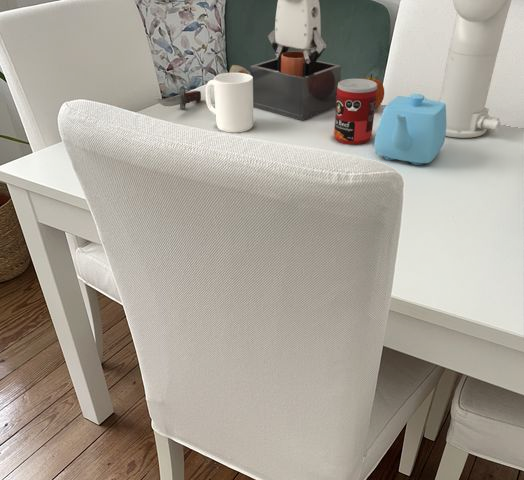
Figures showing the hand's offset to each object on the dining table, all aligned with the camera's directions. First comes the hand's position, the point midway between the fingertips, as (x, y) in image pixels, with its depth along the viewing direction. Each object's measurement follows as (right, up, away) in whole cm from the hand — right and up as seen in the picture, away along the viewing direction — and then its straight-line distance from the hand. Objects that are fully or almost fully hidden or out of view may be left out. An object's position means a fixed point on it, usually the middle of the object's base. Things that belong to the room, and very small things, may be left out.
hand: (295, 77), depth 134 cm
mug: (-12, +1, +11) cm, 16 cm away
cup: (-15, -14, -6) cm, 21 cm away
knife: (-27, -7, +2) cm, 28 cm away
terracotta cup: (0, -3, +3) cm, 4 cm away
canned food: (+11, -19, -12) cm, 26 cm away
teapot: (+21, -26, -21) cm, 39 cm away
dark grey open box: (0, -5, +4) cm, 7 cm away
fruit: (+17, -7, +2) cm, 19 cm away
